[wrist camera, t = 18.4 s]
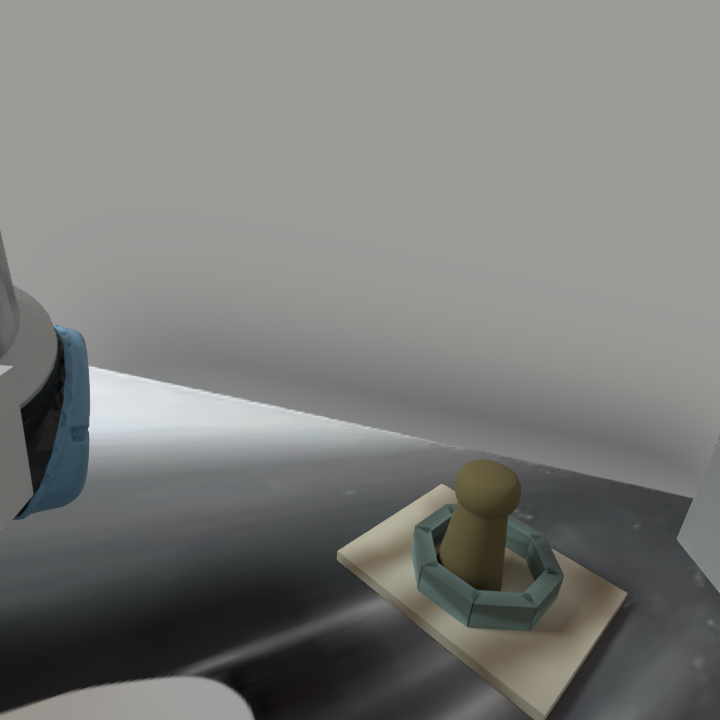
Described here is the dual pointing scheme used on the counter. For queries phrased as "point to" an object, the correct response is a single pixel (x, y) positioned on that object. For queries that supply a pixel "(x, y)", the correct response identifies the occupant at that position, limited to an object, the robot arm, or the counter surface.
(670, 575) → the counter surface
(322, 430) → the counter surface
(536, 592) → the ring stand
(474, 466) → the cork
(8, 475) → the robot arm
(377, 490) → the counter surface
